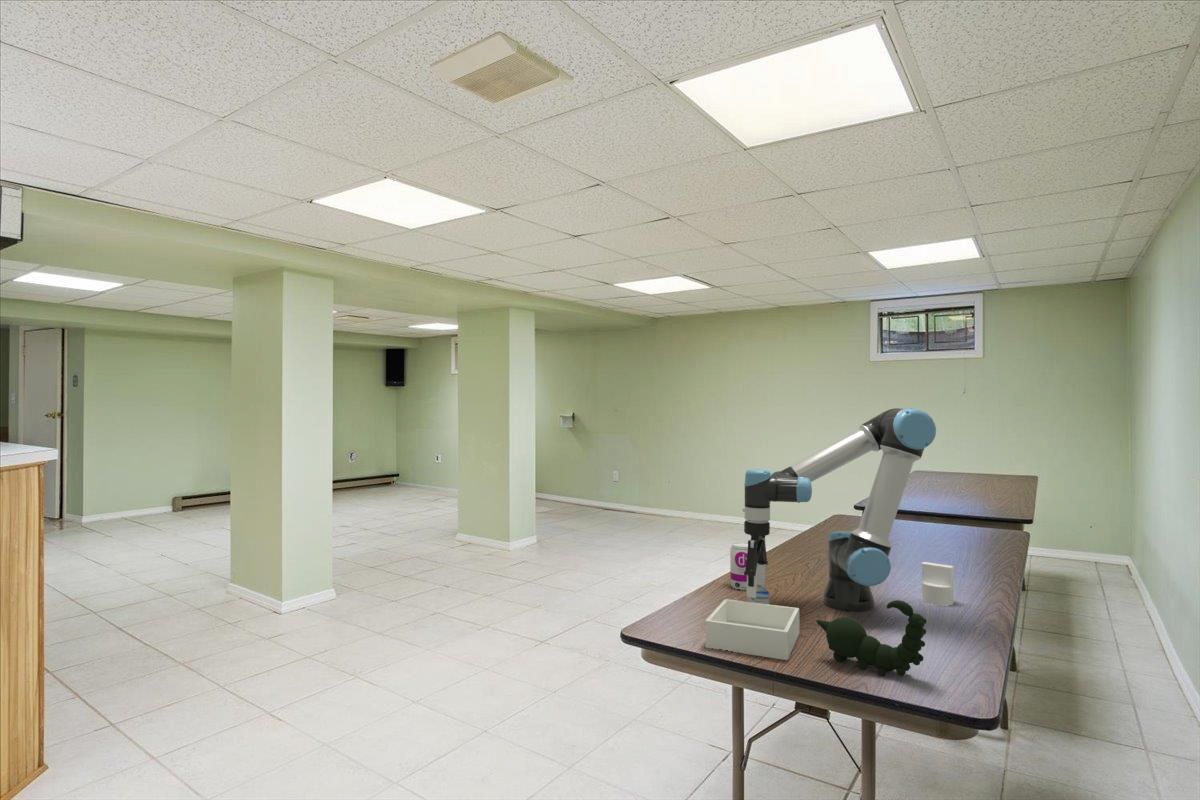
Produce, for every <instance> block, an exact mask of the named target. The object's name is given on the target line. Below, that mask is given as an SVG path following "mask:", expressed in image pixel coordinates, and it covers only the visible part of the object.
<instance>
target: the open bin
mask: <svg viewBox="0 0 1200 800" xmlns="http://www.w3.org/2000/svg"><path fill="white" fill-rule="evenodd" d="M704 621H705V622H704V623H705V624H704V625H705V627H704V628H705V630H704V631H705V632H704V633H705V644H704V645H705V646H704V647H705V648H707V649H712V648H713V649H712V650H719V649H722V650H721V651H725V650H728V651H727V652H731V651H733V653H738V652H739V653H740V654H745V655H752V656H757V657H763V658H764V657H766V658H771V659H777V660H782V661H788V660H789V658H790V656H791V653H792V651H793V649H794V647H795V645H796V642H797V640H798V638H799V636H800V608H799V607H791V606H784V605H775V604H770V603H769V604H761V603H753V602H747V601H743V600H736V599H727V598H725V599H723V601H721V603H720V604H719V605H718V606H717V607H716V608H715V610H714V611H713V612H712V613H710V615H709V616H708V617H707V618H706V619H705V620H704ZM739 653H738V654H739Z"/></svg>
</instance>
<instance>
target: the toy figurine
mask: <svg viewBox="0 0 1200 800" xmlns="http://www.w3.org/2000/svg"><path fill="white" fill-rule="evenodd" d="M892 608H895V609H898V611H900V612H901V614H903V615H905V616H908V619H907V621H908V623H907V624H906V625H905V628H904V630H905V631H904V632H905V633H904V634H903V635H902V638H901V643H899V644H898V646H895V647H892V646H890V645H889V644H885V643H881V642H880V641H879V640H878V639H877V638H876V637H873V636H871V635H869V634H868V633H867V631H866V629H865V627H864V626H863V624H861V623H860V622H859V621H858V620H856V619H854V618H853V617H848V616H841V617H837V618H835V619H833V620H831V621H829V620H822V619H815V622H816V623H817V624H818V626H819V627H820V628H821V629H822V630H823V631H824V632H825V634H826V635H825V636H826V638H825V639H826V641H827V644H828V649H829V650H831V651H833V654H832V656H833V660H834V661H835V662H837V663H842V664H843V663H844V662H847V660H848V659H854V658H855V659H856V660H857V661H856V665H857V667H858V669H860V670H863V671H865V670H867V669H868V668H869V666H872V667H873V666H874V668H876V673H877V675H879V676H881V677H885V676H886V674H887V673H890V672H892V671H896V675H898V676H900V677H904V676H906V674H907V672H908V671H910V669H911V664H913V666H914V665H915V666H920V664H921V662H923V661H924V656H923V654H921V653H919V652H920V651H922V648H924V647H925V646H926V642H925V641H924V640H922V639H923V637H924V635H926V633H927V630H926V629H925V628H924V627H925V625H926V624H927V622H928V621H927V619H926V618H925V617H923V616H922V615H921V614H920V613H916V612H915V613H914V609H913V607H912V605H910V604H909V603H908V602H906V601H904V600H899V599H898V600H897V599H896V600H892V601H890V602H889V603H887V605H886V609H892Z"/></svg>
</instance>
